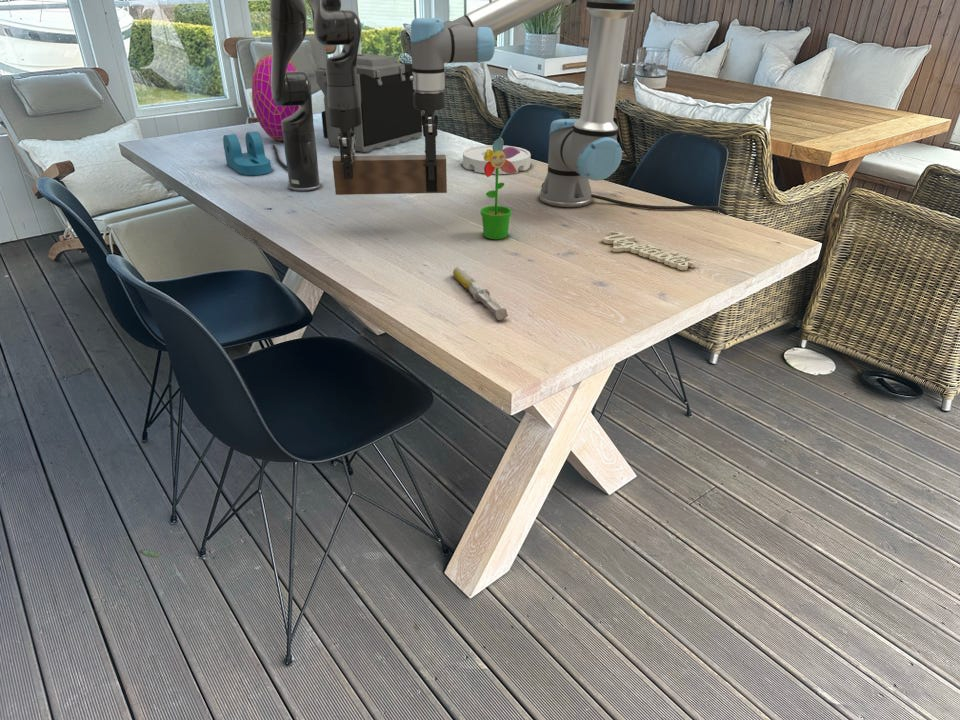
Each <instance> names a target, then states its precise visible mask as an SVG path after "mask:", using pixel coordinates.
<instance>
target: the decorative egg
mask: <svg viewBox="0 0 960 720" xmlns="http://www.w3.org/2000/svg"><path fill="white" fill-rule="evenodd" d="M271 65H272V54H268V55H265V56H262V57H261V58H260V59H259V60H258V61H257V62H256V65H255V68H254V69H253V70H254V71H253V73H252V77H251V101H252V107H253V110H254V114H255V116H256V118H257V121H258V123H259V125H260V127H261V128H262V130H263V131H264V133H266V135H267V136H268V137H270V138H271V139H273V140H275V141H282V142H284V141H283V133H282V126H281V122H282V120H283V119H284V118H286V117H288V116H290V115H292V114H293V113H295V112H296V111H297V110H298V108H299V105H298V106H278V105H276V104H275V102H274V100H273V98H272V93H271ZM288 71H298V69H297V67H296V66H295V65H294V63H293V62H292V61H291V60H290V61H289V63H288V66H287V69H286V72H288Z"/></svg>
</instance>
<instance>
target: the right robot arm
mask: <svg viewBox="0 0 960 720" xmlns="http://www.w3.org/2000/svg"><path fill="white" fill-rule="evenodd" d="M580 1H581V0H492V1H490V2H489V3H487V4H484V5H482V6H480V7H478V8H476V9H474V10H472V11H470V12H468V13H466V14H464V15H462V16H460V17H458V18H455V19H453V20H445V21H444V20H443V18H438V17H418V18H414V19H412V21H411V23H410V51H411V64H412V71H413V73H412V74H413V76H410V80H414V81H413V89H414V90H416V91H415V92H414V93H413V106H414V108H415V109H417V110H422V111H424V113H423V115H422V116H421V121H422V130H423V132H422V137H423V138H424V155H426V164H423V166H426V192H437V162H436V155H437V136H438V125H439V118H438V115H436V114H435V112H436V111H441V110H443V109H445V107H446V95H445V94H446V93H445V92H444V90H445V89H446V81H445V79H446V78H445V76H446V75H445V64H455V63H456V64H459V63H461V64H462V63H477V64H480V63H485V62H490V61H491V60H492V59H493V57H494V55H495V50H496V40H495V37H497V36H499V35H501V34H503V33H505V32H507V31H509V30H511V29H513V28H515V27H518V26H519V25H522V24H523V23H525V22H528V21H530V20H532V19H534V18H535V17H538V16H540V15H541V14H544V13H546V12H548V11H550V10H552V9H554V8H556V7H558V6H560V5H565V6H570V5H572V4H574V3H576V2H580ZM636 1H637V0H586V7H585V8H586V10H587V12H588V13H589V15H590V17H591V19H590V28H589V34H588V35H589V36H588V45H587V54H586V63H585V73H584V81H583V90H582V91H583V92H582V99H581V107H580V117H579V118H560V119H554V120H552V122H551V124H550V127H549V128H550V129H549V133H548V136H549V141H548V142H549V143H548V156H547V158H548V159H547V173H546V176H545V178H544V181H543V182H542V184H541V186H540V192H539V200H540V202H542V203H543V204H546V205H549V206H553V207H558V208H559V207H560V208H580V207H584V206H588V205H589V204H591V203H592V199H596V200H600V201H606V202H609V203H612V204H616V205H622V206H626V207H632V208H639V209H646V210H647V209H650V210H667V211H668V210H670V211H671V210H673V211H674V210H676V211H677V210H679V211H681V210H716V211H718V212H720V213H722V214H723V215H724V216H729V213H728V211H727V210H725V209H724V208H723V207H721V206H718V205H650V204H640V203H633V202H629V201H623V200H619V199H615V198H610V197H606V196H603V195H598V194H593V193H592V188H591V184H590V181H594V182H595V181H597V182H598V181H602V180H606V179H607V178H609V177H610V176H611V175H613V173H615V172H616V171H617V170H618V169H619V166H620V165H621V163H622V159H623V151H622V150H623V149H622V148H621V147H622V146H621V145H620V143H619V142H618V141H617V140H618V139H617V138H618V132H619V127H618V125H617V123H616V122H615V121H614V116H615V111H616V110H615V109H616V101H617V94H618V87H619V81H620V80H619V79H620V72H621V65H622V56H623V51H624V42H625V35H626V27H627V19H628V18H629V17H630V16H631V15H632V14H633V13H635V8H636Z"/></svg>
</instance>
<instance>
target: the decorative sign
mask: <svg viewBox="0 0 960 720" xmlns="http://www.w3.org/2000/svg"><path fill="white" fill-rule="evenodd" d="M635 241H636V237H635V236H631V235H630V236H624V233H623V232H619V231H612V230H611V231H609V235H607V236H604V237H603V243H604V244H608V245H612V246H613V247H612V252H614V253H621V252H630V253H632V254H636V255H637V254H638V255H639V256H641V257H642V258H649V260H652V261H655V262H658V263H663V264H664V265H665V266H669V267H671V268H676V269H678V270H680V271H687V270H688V268H691V269H693V268H694V267H695V266H694V265H695V262H694V261H691V260H688V258H689V255H685V254H681V255H679V253H678V252H677V251H667V252H663V251H662V248H660V247H659V246H653V245H651V244H647V245H644V244H640V243H636V242H635Z"/></svg>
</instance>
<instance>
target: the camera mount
mask: <svg viewBox="0 0 960 720" xmlns="http://www.w3.org/2000/svg"><path fill="white" fill-rule="evenodd" d="M222 140H223V141H222V143H223V149H224V150H223V151H224V156H225V161H226V165H227V166H228V167H230V168H231V169H232V170H234V171H236V172H237V173H238V174H239V175H244V176H260V175H265V174H268V173H271V172H272V164H271V159H270V158H268V157H267V156H266V153H265V145H264V141H263V139H262V136H261V134H260V132H258V131H247V132H246V133H245V146H246V152H243V151H242V150H243V149H242V146H241V142H240V140H239V138H238V135H236V134H235V133H231V134H224V135H223V138H222Z"/></svg>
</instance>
